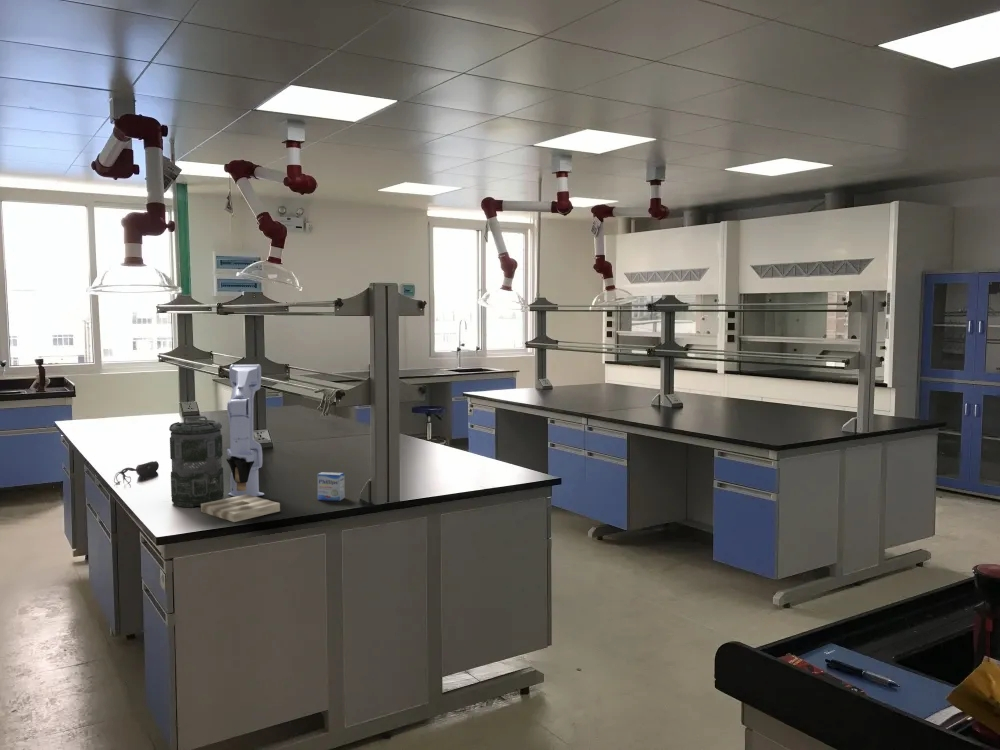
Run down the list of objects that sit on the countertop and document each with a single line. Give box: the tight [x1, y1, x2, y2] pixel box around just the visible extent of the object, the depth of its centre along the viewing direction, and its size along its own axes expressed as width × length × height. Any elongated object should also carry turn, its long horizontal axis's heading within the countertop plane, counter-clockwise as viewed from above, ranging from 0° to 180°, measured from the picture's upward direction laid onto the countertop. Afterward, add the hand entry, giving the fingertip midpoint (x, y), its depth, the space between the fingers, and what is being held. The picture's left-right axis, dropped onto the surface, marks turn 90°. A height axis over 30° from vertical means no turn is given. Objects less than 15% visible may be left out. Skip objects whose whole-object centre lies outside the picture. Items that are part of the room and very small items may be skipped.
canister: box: [168, 415, 225, 508], centre depth 251 cm, size 16×16×28 cm
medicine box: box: [317, 471, 346, 502], centre depth 256 cm, size 8×4×9 cm, turn 81°
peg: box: [235, 467, 246, 491], centre depth 240 cm, size 4×4×7 cm
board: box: [200, 494, 281, 523], centre depth 240 cm, size 18×16×2 cm
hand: (240, 481), depth 240 cm, fingers closed on peg, 4 cm apart
